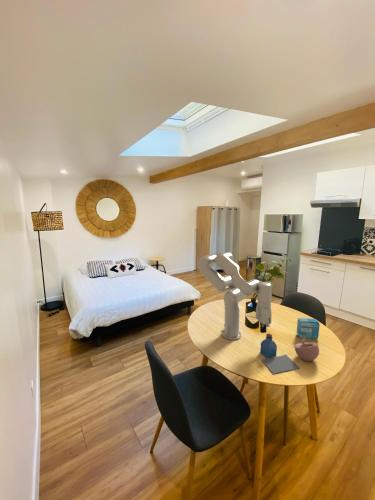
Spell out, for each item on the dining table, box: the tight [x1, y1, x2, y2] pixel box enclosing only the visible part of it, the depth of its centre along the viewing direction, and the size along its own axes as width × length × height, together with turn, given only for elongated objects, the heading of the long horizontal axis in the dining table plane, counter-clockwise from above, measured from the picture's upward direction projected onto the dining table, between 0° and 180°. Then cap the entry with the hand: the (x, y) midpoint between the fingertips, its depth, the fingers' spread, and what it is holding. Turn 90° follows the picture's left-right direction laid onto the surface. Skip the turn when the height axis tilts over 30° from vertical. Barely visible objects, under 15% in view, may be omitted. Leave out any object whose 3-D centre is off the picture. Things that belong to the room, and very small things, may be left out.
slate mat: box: [260, 354, 301, 375], centre depth 122 cm, size 11×16×1 cm
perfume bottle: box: [259, 333, 278, 359], centre depth 130 cm, size 6×6×12 cm
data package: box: [296, 317, 321, 340], centre depth 147 cm, size 12×4×12 cm, turn 81°
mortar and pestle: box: [294, 338, 320, 362], centre depth 125 cm, size 12×12×12 cm
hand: (263, 332), depth 135 cm, fingers closed
